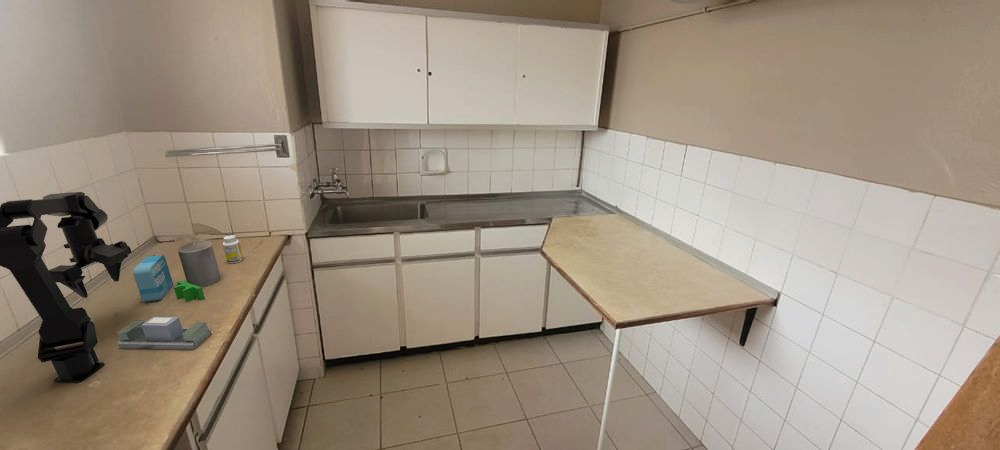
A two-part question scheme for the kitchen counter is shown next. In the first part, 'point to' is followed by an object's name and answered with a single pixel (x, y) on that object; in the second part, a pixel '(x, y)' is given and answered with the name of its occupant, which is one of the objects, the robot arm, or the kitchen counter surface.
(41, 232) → the robot arm
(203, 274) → the pillar candle
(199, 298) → the pipe clamp
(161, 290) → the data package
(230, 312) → the kitchen counter surface
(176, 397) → the kitchen counter surface
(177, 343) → the rail
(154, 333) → the block
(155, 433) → the kitchen counter surface
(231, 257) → the supplement bottle
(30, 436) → the kitchen counter surface
